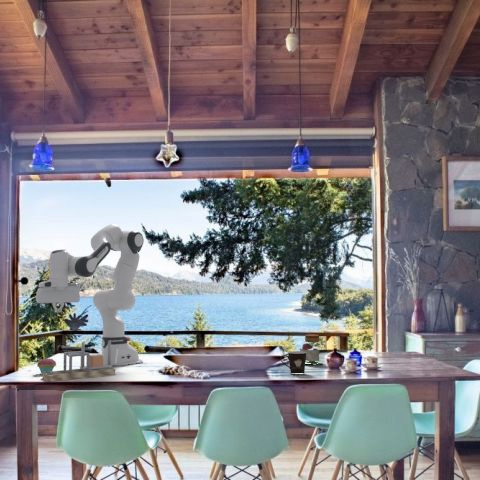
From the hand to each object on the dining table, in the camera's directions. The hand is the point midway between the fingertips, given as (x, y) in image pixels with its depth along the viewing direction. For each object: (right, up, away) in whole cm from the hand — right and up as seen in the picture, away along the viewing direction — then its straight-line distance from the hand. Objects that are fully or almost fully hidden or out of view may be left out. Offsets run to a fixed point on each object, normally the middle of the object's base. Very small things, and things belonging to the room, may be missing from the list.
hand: (58, 312), depth 286 cm
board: (+13, -29, -9) cm, 33 cm away
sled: (+19, -26, -5) cm, 32 cm away
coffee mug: (+113, -29, -3) cm, 116 cm away
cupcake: (-5, -29, 0) cm, 30 cm away
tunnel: (+11, -26, -10) cm, 30 cm away
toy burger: (+124, -30, +27) cm, 131 cm away
